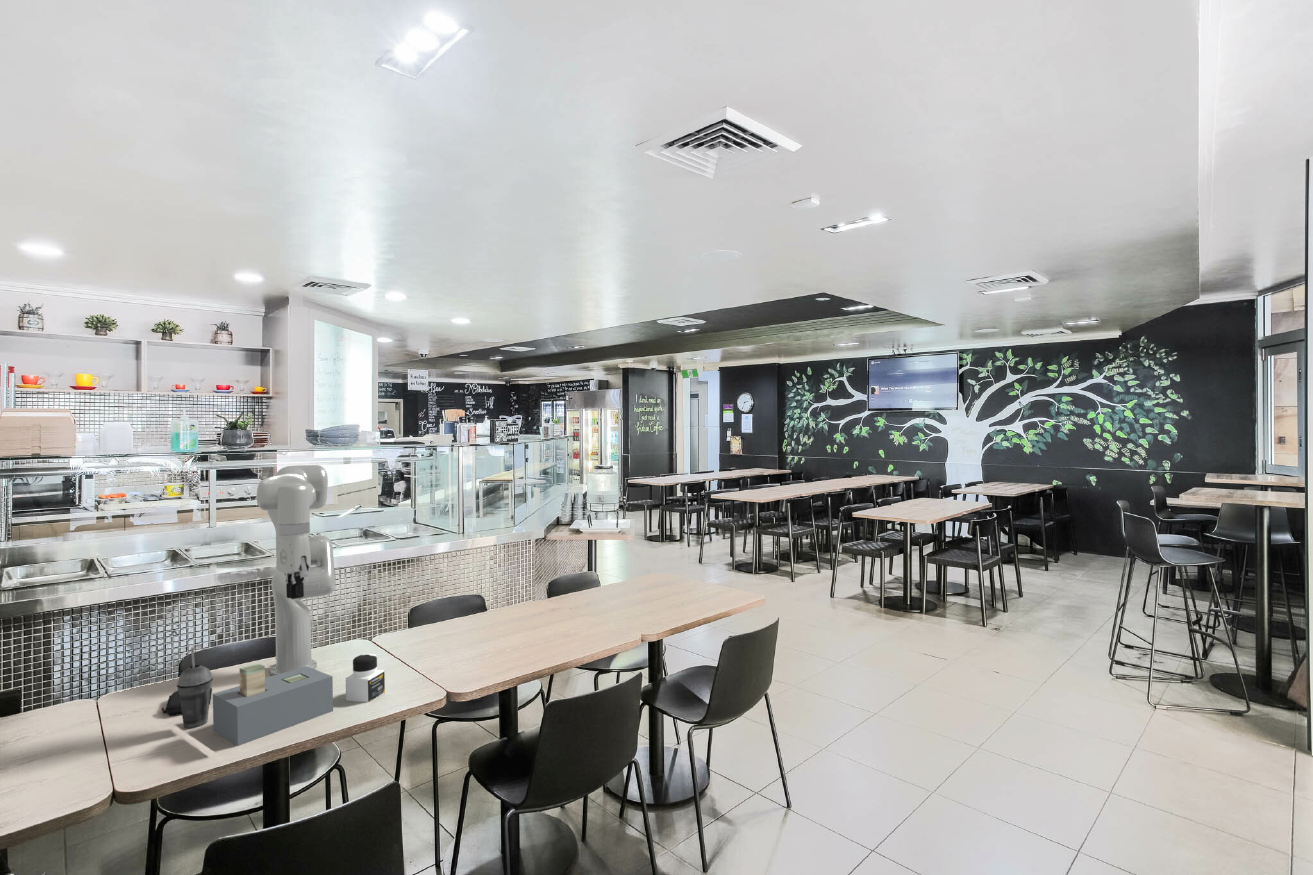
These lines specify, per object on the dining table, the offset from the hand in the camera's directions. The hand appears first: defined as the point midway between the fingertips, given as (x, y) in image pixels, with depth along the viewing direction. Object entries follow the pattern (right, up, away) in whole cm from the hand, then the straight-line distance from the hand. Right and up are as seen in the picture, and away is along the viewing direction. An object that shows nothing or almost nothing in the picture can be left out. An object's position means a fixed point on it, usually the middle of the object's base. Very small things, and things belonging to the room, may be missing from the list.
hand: (295, 597), depth 169 cm
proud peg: (-1, -22, -16) cm, 27 cm away
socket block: (+2, -29, -12) cm, 32 cm away
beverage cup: (-17, -30, -13) cm, 37 cm away
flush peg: (+5, -28, -8) cm, 30 cm away
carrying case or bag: (-30, -30, +1) cm, 43 cm away
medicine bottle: (+18, -29, +2) cm, 34 cm away
